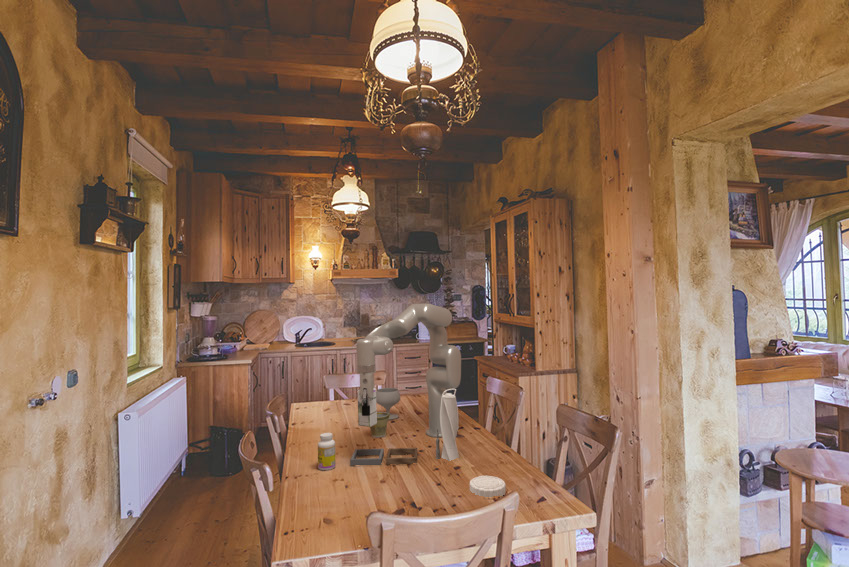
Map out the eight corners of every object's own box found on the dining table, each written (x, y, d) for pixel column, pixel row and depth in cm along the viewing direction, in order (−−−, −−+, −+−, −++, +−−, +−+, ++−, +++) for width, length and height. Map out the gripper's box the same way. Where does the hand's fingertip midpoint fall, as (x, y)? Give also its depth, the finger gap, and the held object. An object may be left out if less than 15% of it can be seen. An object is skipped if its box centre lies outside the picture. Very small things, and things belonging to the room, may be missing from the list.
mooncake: (481, 503, 139) (481, 491, 139) (463, 488, 150) (462, 478, 150) (513, 495, 144) (512, 484, 144) (493, 482, 155) (492, 471, 155)
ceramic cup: (379, 440, 202) (378, 418, 203) (363, 436, 209) (363, 415, 209) (397, 433, 213) (397, 412, 213) (382, 429, 219) (381, 409, 219)
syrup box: (377, 423, 180) (376, 387, 180) (369, 427, 175) (368, 390, 175) (365, 422, 182) (364, 386, 183) (357, 426, 177) (356, 389, 177)
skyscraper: (449, 454, 183) (447, 387, 184) (464, 459, 177) (462, 389, 178) (434, 460, 177) (433, 390, 178) (449, 465, 171) (448, 393, 172)
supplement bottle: (316, 466, 172) (316, 433, 173) (333, 463, 175) (333, 430, 175) (319, 472, 166) (319, 438, 167) (337, 469, 169) (336, 435, 169)
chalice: (399, 420, 235) (399, 392, 235) (373, 421, 235) (373, 392, 235) (401, 413, 249) (401, 387, 249) (376, 414, 249) (376, 387, 249)
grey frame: (383, 454, 184) (383, 448, 184) (381, 465, 172) (381, 459, 172) (355, 455, 184) (355, 449, 184) (350, 466, 172) (350, 459, 172)
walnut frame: (417, 453, 184) (417, 447, 184) (416, 464, 172) (416, 458, 172) (388, 454, 184) (388, 448, 184) (386, 465, 172) (386, 458, 172)
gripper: (372, 372, 170) (374, 418, 170) (377, 365, 188) (378, 407, 187) (353, 373, 170) (354, 419, 170) (360, 366, 188) (361, 407, 187)
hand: (367, 412), depth 179 cm, fingers closed on syrup box, 7 cm apart
